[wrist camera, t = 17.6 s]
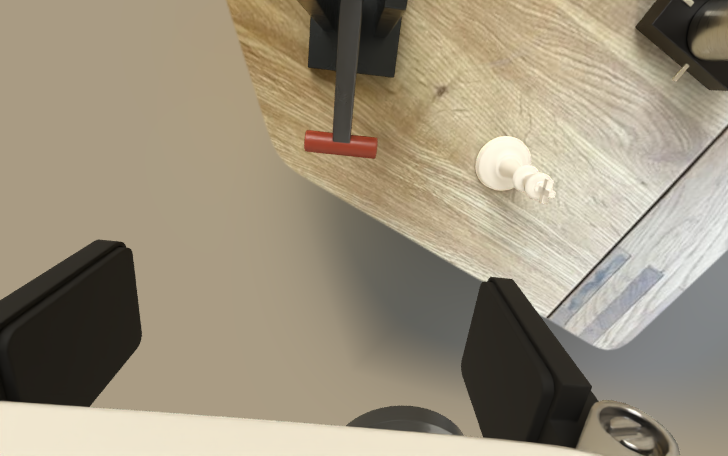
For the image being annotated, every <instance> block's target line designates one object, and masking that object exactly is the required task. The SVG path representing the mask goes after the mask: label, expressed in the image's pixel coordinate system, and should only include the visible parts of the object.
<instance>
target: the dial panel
mask: <svg viewBox="0 0 728 456" xmlns="http://www.w3.org/2000/svg"><path fill="white" fill-rule="evenodd" d="M708 1H710V0H656V2H655V3H654V4H653V6H652V7H651V8H650V9H649V11H648V12H647V13H646V14H645V16H644V17H643V18H642V19H641V21H640V22H639V23H638V25H637V26H636V28H637V29H638V30H639V31H640V32H641V33H643V34H644V35H645V36H646V37H647V38H649V39H650V40H651V41H652V42H653V43H654V44H656V45H657V46H658V47H659V48H660V49H662V50H663V51H664V52H665V53H666V54H667V55H669V56H670V57H671V58H672V59H673V60H675V61H676V62H677V63H678V64H679V65H680V66H682V68H681V69H680V70H679V71H678V73H677V74H676V75H675V76H674V77H673V78H672V80H673V81H674V82H676V81H677V80H678V79H679V78H680V77H681V76H682V74H683V73H684V72H685V71H688V72H689V73H690V74H691V75H692V76H693V77H695V78H696V79H697V80H698V81H699V82H701V83H702V84H703V85H704V86H705V87H707V88H708V89H709V90H722V91H728V61H703V60H700V59H698V58H696V57H695V56H694V55H693V54H692V53H691V51H690V49H689V46H688V41H687V35H688V30H689V26H690V23H691V21H692V19H693V17H694V16H695V14H696V13H697V12H698V10H699V9H700V8H701V7H702V6H703V5H704V4H706V3H707V2H708Z"/></svg>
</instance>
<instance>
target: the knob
mask: <svg viewBox="0 0 728 456" xmlns="http://www.w3.org/2000/svg"><path fill="white" fill-rule="evenodd" d="M687 41H688V46H689V49H690V51H691V53H692V54H693V55H694V56H695V57H696V58H698V59H700V60H703V61H728V0H710V1H708V2H707V3H706V4H704V5H703V6H702V7H701V8H700V9H699V10H698V12H697V13H696V14H695V16H694V17H693V19H692V21H691V23H690V26H689V30H688V35H687Z"/></svg>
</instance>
